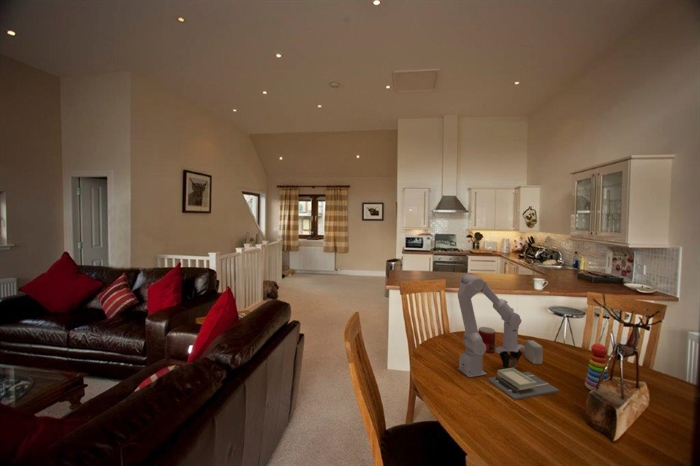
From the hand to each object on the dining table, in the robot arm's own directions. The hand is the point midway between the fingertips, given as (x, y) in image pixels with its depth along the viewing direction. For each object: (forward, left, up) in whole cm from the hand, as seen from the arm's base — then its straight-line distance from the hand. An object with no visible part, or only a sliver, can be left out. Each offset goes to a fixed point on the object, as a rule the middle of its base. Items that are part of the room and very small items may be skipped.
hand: (509, 366), depth 139 cm
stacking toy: (+23, -22, -2) cm, 32 cm away
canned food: (+5, +21, -2) cm, 22 cm away
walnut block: (0, 0, -2) cm, 2 cm away
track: (-5, -12, -2) cm, 13 cm away
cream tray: (-8, -12, 0) cm, 14 cm away
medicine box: (+19, +5, -2) cm, 20 cm away
